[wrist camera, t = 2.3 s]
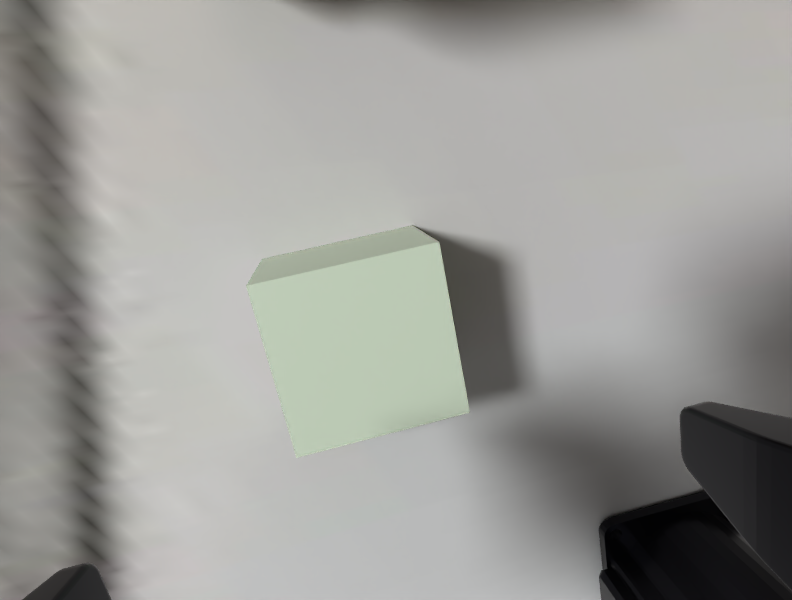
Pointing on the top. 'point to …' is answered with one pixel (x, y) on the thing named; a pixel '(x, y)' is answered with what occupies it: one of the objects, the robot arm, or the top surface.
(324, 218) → the top surface
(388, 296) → the sage block
